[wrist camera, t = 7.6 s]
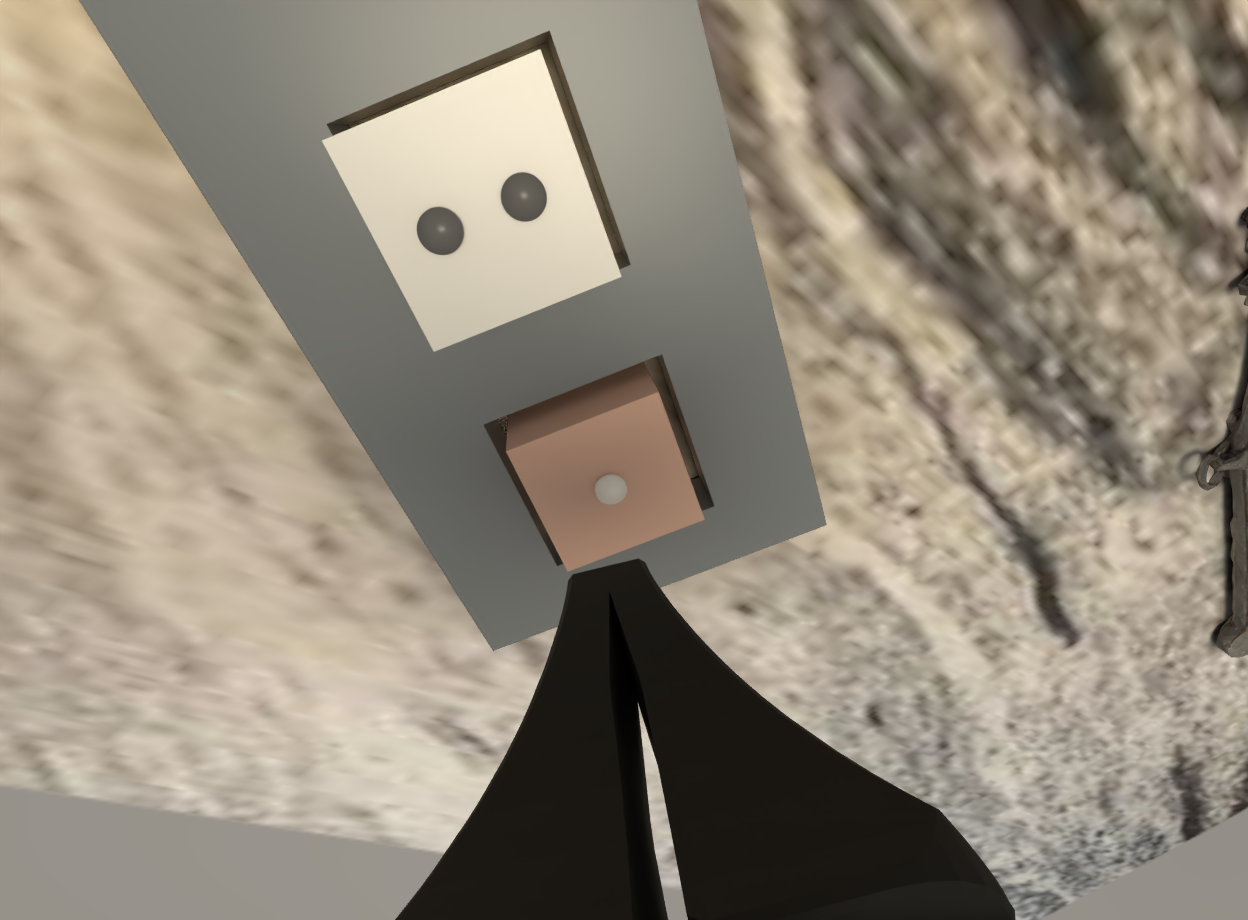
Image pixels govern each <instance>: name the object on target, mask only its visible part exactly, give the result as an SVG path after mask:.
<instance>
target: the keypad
mask: <svg viewBox="0 0 1248 920" xmlns="http://www.w3.org/2000/svg"><path fill="white" fill-rule="evenodd" d="M79 1H80V3H81V4H82V6H83V7H84V9H85V10H86V12H87V14H88V15H89V17H90V18H91V20H92V21H93V23H94V25H95V26H96V28H97V29H98V31H99V32H100V34H101V36H102V37H103V39H104V40H105V42H106V43H107V45H108V47H109V48H110V50H111V51H112V53H113V54H114V56H115V58H116V59H117V61H118V62H119V64H120V65H121V67H122V69H123V70H124V72H125V73H126V75H127V76H128V78H129V80H130V81H131V83H132V84H133V86H134V87H135V89H136V91H137V92H138V94H139V95H140V97H141V98H142V100H143V102H144V103H145V105H146V106H147V108H148V109H149V111H150V113H151V114H152V116H153V117H154V119H155V120H156V122H157V124H158V125H159V127H160V128H161V130H162V131H163V133H164V135H165V136H166V138H167V139H168V141H169V142H170V144H171V146H172V147H173V149H174V150H175V152H176V153H177V155H178V157H179V158H180V160H181V161H182V163H183V164H184V166H185V168H186V169H187V171H188V172H189V174H190V175H191V177H192V179H193V180H194V182H195V183H196V185H197V186H198V188H199V190H200V191H201V193H202V194H203V196H204V197H205V199H206V201H207V202H208V204H209V205H210V207H211V208H212V210H213V212H214V213H215V215H216V216H217V218H218V219H219V221H220V223H221V224H222V226H223V227H224V229H225V230H226V232H227V234H228V235H229V237H230V238H231V240H232V241H233V243H234V245H235V246H236V248H237V249H238V251H239V252H240V254H241V256H242V257H243V259H244V260H245V262H246V263H247V265H248V267H249V268H250V270H251V271H252V273H253V274H254V276H255V278H256V279H257V281H258V282H259V284H260V285H261V287H262V288H263V290H264V292H265V293H266V295H267V296H268V298H269V299H270V301H271V303H272V304H273V306H274V307H275V309H276V310H277V312H278V314H279V315H280V317H281V318H282V320H283V321H284V323H285V325H286V326H287V328H288V329H289V331H290V332H291V334H292V336H293V337H294V339H295V340H296V342H297V343H298V345H299V347H300V348H301V350H302V351H303V353H304V354H305V356H306V358H307V359H308V361H309V362H310V364H311V365H312V367H313V369H314V370H315V372H316V373H317V375H318V376H319V378H320V380H321V381H322V383H323V384H324V386H325V387H326V389H327V391H328V392H329V394H330V395H331V397H332V398H333V400H334V402H335V403H336V405H337V406H338V408H339V409H340V411H341V413H342V414H343V416H344V417H345V419H346V420H347V422H348V424H349V425H350V427H351V428H352V430H353V431H354V433H355V435H356V436H357V438H358V439H359V441H360V442H361V444H362V446H363V447H364V449H365V450H366V452H367V453H368V455H369V457H370V458H371V460H372V461H373V463H374V464H375V466H376V468H377V469H378V471H379V472H380V474H381V475H382V477H383V479H384V480H385V482H386V483H387V485H388V486H389V488H390V490H391V491H392V493H393V494H394V496H395V497H396V499H397V501H398V502H399V504H400V505H401V507H402V508H403V510H404V512H405V513H406V515H407V516H408V518H409V519H410V521H411V523H412V524H413V526H414V527H415V529H416V530H417V532H418V534H419V535H420V537H421V538H422V540H423V541H424V543H425V545H426V546H427V548H428V549H429V551H430V552H431V554H432V556H433V557H434V559H435V560H436V562H437V563H438V565H439V567H440V568H441V570H442V571H443V573H444V574H445V576H446V578H447V579H448V581H449V582H450V584H451V585H452V587H453V589H454V590H455V592H456V593H457V595H458V596H459V598H460V600H461V601H462V603H463V604H464V606H465V607H466V609H467V611H468V612H469V614H470V615H471V617H472V618H473V620H474V622H475V623H476V625H477V626H478V628H479V629H480V631H481V633H482V634H483V636H484V637H485V639H486V640H487V642H488V644H489V645H490V647H491V648H492V650H493V651H494V650H497V649H499V648H502V647H505V646H507V645H510V644H512V643H515V642H518V641H520V640H523V639H526V638H528V637H531V636H534V635H536V634H539V633H542V632H544V631H547V630H550V629H552V628H555V627H557V626H558V625H559V621H560V618H561V614H562V610H563V606H564V601H565V596H566V591H567V584H568V580H569V579H570V577H571V576H572V574H576V573H580V572H584V571H588V570H592V569H596V568H601V567H605V566H609V565H613V564H617V563H621V562H625V561H629V560H634V559H638V558H639V559H641V560H642V561H644V562H646V565H647V567H648V569H649V571H650V573H651V575H652V576H653V578H654V580H655V581H656V583H657V584H658V586H659V587H660V588H661V587H663V586H666V585H669V584H671V583H674V582H677V581H679V580H682V579H685V578H687V577H690V576H693V575H695V574H698V573H701V572H703V571H706V570H709V569H711V568H714V567H716V566H719V565H722V564H724V563H727V562H730V561H732V560H735V559H738V558H740V557H743V556H746V555H748V554H751V553H754V552H756V551H759V550H761V549H764V548H767V547H769V546H772V545H775V544H777V543H780V542H783V541H785V540H788V539H791V538H793V537H796V536H799V535H801V534H804V533H807V532H809V531H812V530H814V529H817V528H820V527H822V526H825V525H826V520H825V516H824V512H823V508H822V504H821V500H820V496H819V492H818V488H817V484H816V480H815V476H814V472H813V468H812V464H811V460H810V456H809V452H808V448H807V444H806V440H805V436H804V432H803V428H802V424H801V420H800V416H799V411H798V407H797V403H796V399H795V395H794V391H793V387H792V383H791V379H790V375H789V371H788V367H787V363H786V359H785V355H784V351H783V347H782V343H781V339H780V335H779V331H778V327H777V323H776V319H775V315H774V311H773V307H772V302H771V298H770V294H769V290H768V286H767V282H766V278H765V274H764V270H763V266H762V262H761V258H760V254H759V250H758V246H757V242H756V238H755V234H754V230H753V226H752V222H751V218H750V214H749V210H748V206H747V202H746V198H745V194H744V189H743V185H742V181H741V177H740V173H739V169H738V165H737V161H736V157H735V153H734V149H733V145H732V141H731V137H730V133H729V129H728V125H727V121H726V117H725V113H724V109H723V105H722V101H721V97H720V93H719V89H718V85H717V80H716V76H715V72H714V68H713V64H712V60H711V56H710V52H709V48H708V44H707V40H706V36H705V32H704V28H703V24H702V20H701V16H700V12H699V8H698V4H697V0H79ZM545 42H547V43H548V46H549V49H550V52H551V54H552V57H553V60H554V63H555V66H556V69H557V72H558V74H559V77H560V80H561V83H562V86H563V89H564V91H565V94H566V97H567V100H568V103H569V106H570V109H571V111H572V114H573V117H574V120H575V123H576V126H577V129H578V131H579V134H580V137H581V140H582V143H583V146H584V148H585V151H586V154H587V157H588V160H589V163H590V166H591V168H592V171H593V174H594V177H595V180H596V183H597V185H598V188H599V191H600V194H601V197H602V200H603V203H604V205H605V208H606V211H607V214H608V217H609V220H610V222H611V225H612V228H613V231H614V234H615V237H616V240H617V242H618V245H619V248H620V251H621V252H620V253H618V254H615V255H614V257H615V260H616V262H617V265H618V268H619V271H620V274H621V276H622V277H620V278H617V279H615V280H612V281H610V282H607V283H605V284H602V285H600V286H597V287H595V288H592V289H590V290H587V291H585V292H582V293H580V294H577V295H575V296H572V297H570V298H567V299H565V300H562V301H560V302H557V303H555V304H552V305H550V306H547V307H545V308H542V309H540V310H537V311H535V312H532V313H530V314H527V315H525V316H522V317H520V318H517V319H515V320H512V321H510V322H507V323H505V324H502V325H500V326H497V327H495V328H492V329H490V330H487V331H485V332H482V333H480V334H477V335H475V336H472V337H470V338H467V339H465V340H462V341H460V342H457V343H455V344H452V345H450V346H447V347H445V348H442V349H440V350H437V351H435V352H434V351H433V349H432V347H431V346H430V344H429V342H428V340H427V338H426V336H425V334H424V332H423V330H422V329H421V327H420V325H419V323H418V321H417V319H416V317H415V315H414V313H413V312H412V310H411V308H410V306H409V304H408V302H407V300H406V298H405V297H404V295H403V293H402V291H401V289H400V287H399V285H398V283H397V281H396V280H395V278H394V276H393V274H392V272H391V270H390V268H389V266H388V264H387V263H386V261H385V259H384V257H383V255H382V253H381V251H380V249H379V248H378V246H377V244H376V242H375V240H374V238H373V236H372V234H371V232H370V231H369V229H368V227H367V225H366V223H365V221H364V219H363V217H362V215H361V214H360V212H359V210H358V208H357V206H356V204H355V202H354V200H353V199H352V197H351V195H350V193H349V191H348V189H347V187H346V185H345V183H344V182H343V180H342V178H341V176H340V174H339V172H338V170H337V168H336V166H335V165H334V163H333V161H332V159H331V157H330V155H329V153H328V151H327V150H326V148H325V146H324V144H323V142H322V140H324V139H327V138H329V137H332V136H334V135H336V134H339V133H341V132H343V131H346V130H348V129H350V128H349V126H348V125H349V124H351V123H354V122H356V121H358V120H361V119H363V118H365V117H368V116H370V115H373V114H375V113H377V112H380V111H382V110H385V109H387V108H389V107H392V106H394V105H397V104H399V103H401V102H404V101H406V100H408V99H411V98H413V97H416V96H418V95H420V94H423V93H425V92H428V91H430V90H432V89H435V88H437V87H440V86H442V85H444V84H447V83H449V82H451V81H454V80H456V79H459V78H461V77H463V76H466V75H468V74H471V73H473V72H475V71H478V70H480V69H483V68H485V67H487V66H490V65H492V64H494V63H497V62H499V61H502V60H504V59H506V58H509V57H511V56H514V55H516V54H518V53H521V52H523V51H526V50H528V49H530V48H533V47H535V46H537V45H540V44H542V43H545ZM656 356H658V359H659V362H660V365H661V368H662V371H663V373H664V376H665V379H666V382H667V385H668V388H669V391H670V393H671V396H672V399H673V402H674V405H675V408H676V410H677V413H678V416H679V419H680V422H681V425H682V428H683V430H684V433H685V436H686V439H687V442H688V445H689V448H690V450H691V453H692V456H693V459H694V462H695V465H696V467H697V470H698V473H699V476H700V477H697V478H694V479H692V480H691V483H692V486H693V488H694V491H695V494H696V497H697V500H698V502H699V505H700V508H701V511H702V513H703V516H704V519H705V520H702V521H700V522H697V523H695V524H692V525H689V526H687V527H684V528H681V529H679V530H676V531H674V532H671V533H668V534H666V535H663V536H660V537H658V538H655V539H653V540H650V541H647V542H645V543H642V544H639V545H637V546H634V547H632V548H629V549H626V550H624V551H621V552H618V553H616V554H613V555H611V556H608V557H605V558H603V559H600V560H597V561H595V562H592V563H590V564H587V565H584V566H582V567H579V568H576V569H574V570H571V571H569V572H568V571H567V569H566V568H565V566H564V564H563V562H562V560H561V558H560V556H559V554H558V552H557V550H556V548H555V546H554V544H553V542H552V540H551V538H550V536H549V534H548V532H547V531H546V529H545V527H544V525H543V523H542V521H541V519H540V517H539V515H538V513H537V511H536V509H535V507H534V505H533V503H532V501H531V499H530V497H529V495H528V494H527V492H526V490H525V488H524V486H523V484H522V482H521V480H520V478H519V476H518V474H517V472H516V470H515V468H514V466H513V464H512V462H511V460H510V459H509V457H508V455H507V453H506V441H507V437H506V435H505V433H504V431H503V430H502V428H501V426H500V424H499V422H498V420H497V419H499V418H501V417H504V416H507V415H509V414H512V413H514V412H517V411H519V410H522V409H524V408H527V407H529V406H532V405H534V404H537V403H540V402H542V401H545V400H547V399H550V398H552V397H555V396H557V395H560V394H562V393H565V392H568V391H570V390H573V389H575V388H578V387H580V386H583V385H585V384H588V383H590V382H593V381H595V380H598V379H601V378H603V377H606V376H608V375H611V374H613V373H616V372H618V371H621V370H623V369H626V368H628V367H631V366H634V365H636V364H639V363H641V362H644V361H646V360H649V359H651V358H654V357H656Z"/></svg>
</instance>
